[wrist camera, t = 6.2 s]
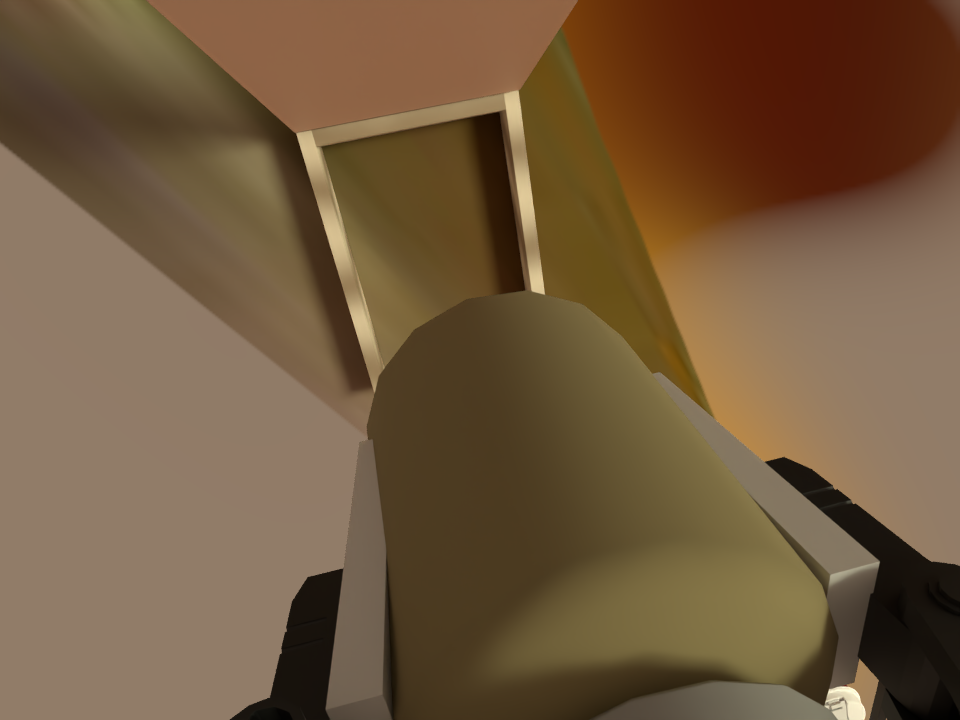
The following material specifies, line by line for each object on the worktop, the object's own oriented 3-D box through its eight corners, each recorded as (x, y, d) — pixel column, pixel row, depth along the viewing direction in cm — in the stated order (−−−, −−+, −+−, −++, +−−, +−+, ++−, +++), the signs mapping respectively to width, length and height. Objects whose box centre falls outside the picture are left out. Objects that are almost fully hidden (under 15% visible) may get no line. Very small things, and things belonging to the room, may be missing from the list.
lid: (294, 132, 32) (288, 109, 32) (519, 89, 33) (516, 66, 33) (102, -39, 13) (81, -104, 12) (663, -132, 14) (657, -194, 13)
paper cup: (715, 594, 60) (800, 713, 48) (775, 577, 61) (875, 691, 48) (715, 637, 64) (795, 760, 51) (772, 620, 64) (865, 738, 51)
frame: (302, 133, 35) (296, 133, 33) (510, 94, 36) (518, 90, 34) (377, 384, 43) (375, 397, 41) (544, 346, 44) (552, 357, 42)
